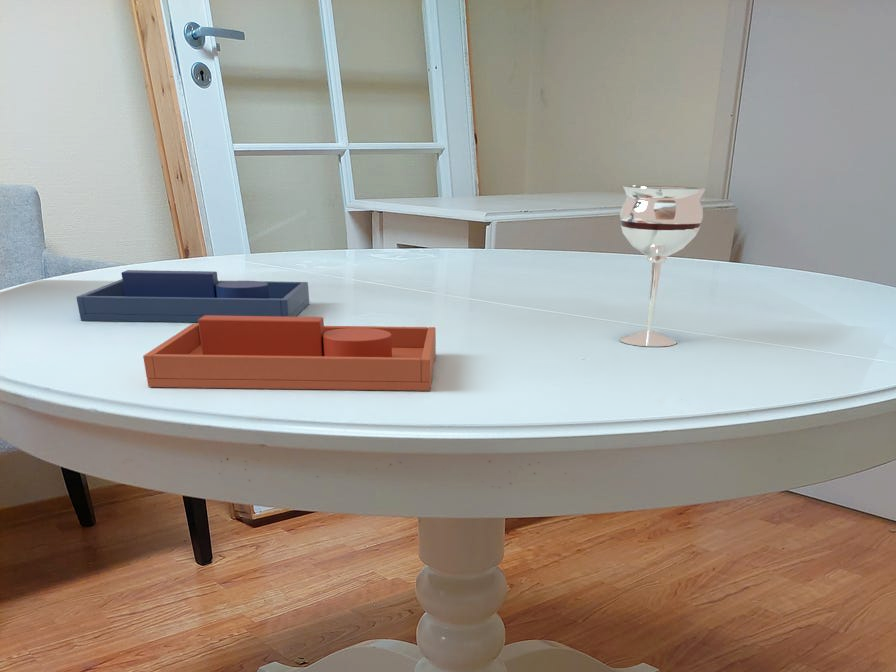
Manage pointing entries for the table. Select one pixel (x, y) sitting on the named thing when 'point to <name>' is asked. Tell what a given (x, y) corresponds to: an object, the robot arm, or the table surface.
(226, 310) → the blue tray
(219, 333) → the bar with round end
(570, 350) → the table surface
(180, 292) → the blue block
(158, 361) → the terracotta tray
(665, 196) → the wineglass
